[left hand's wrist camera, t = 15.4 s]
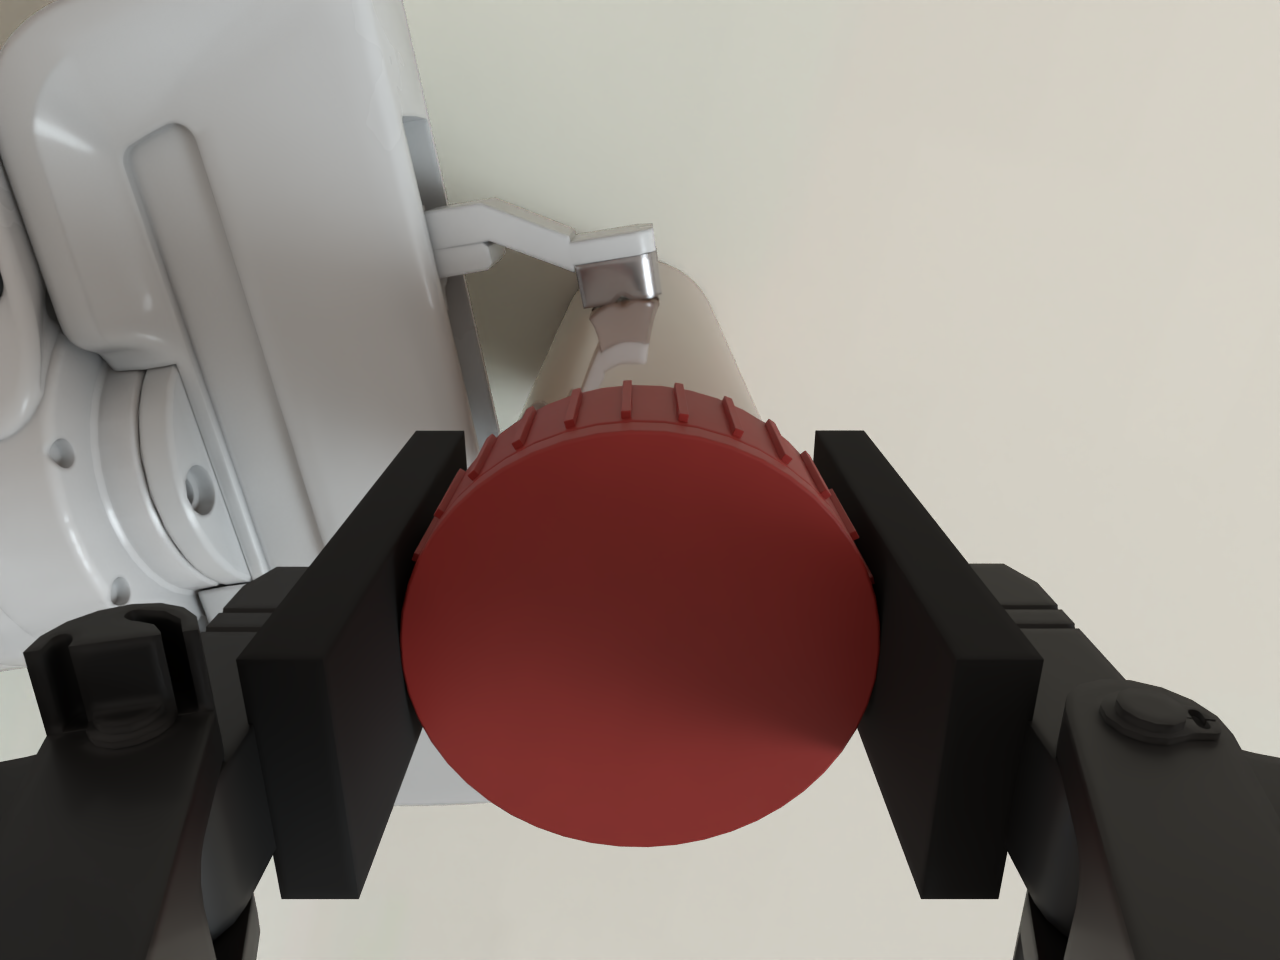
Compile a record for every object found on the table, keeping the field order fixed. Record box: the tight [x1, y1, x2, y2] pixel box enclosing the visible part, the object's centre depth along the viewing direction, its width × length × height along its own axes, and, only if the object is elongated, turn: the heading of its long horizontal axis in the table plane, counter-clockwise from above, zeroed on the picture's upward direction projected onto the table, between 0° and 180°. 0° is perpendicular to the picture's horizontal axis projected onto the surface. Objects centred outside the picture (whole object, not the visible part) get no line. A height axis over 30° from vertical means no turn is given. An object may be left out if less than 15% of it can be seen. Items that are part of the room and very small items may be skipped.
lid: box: [399, 380, 880, 847], centre depth 11 cm, size 6×6×2 cm
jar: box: [518, 262, 762, 421], centre depth 19 cm, size 5×5×17 cm
